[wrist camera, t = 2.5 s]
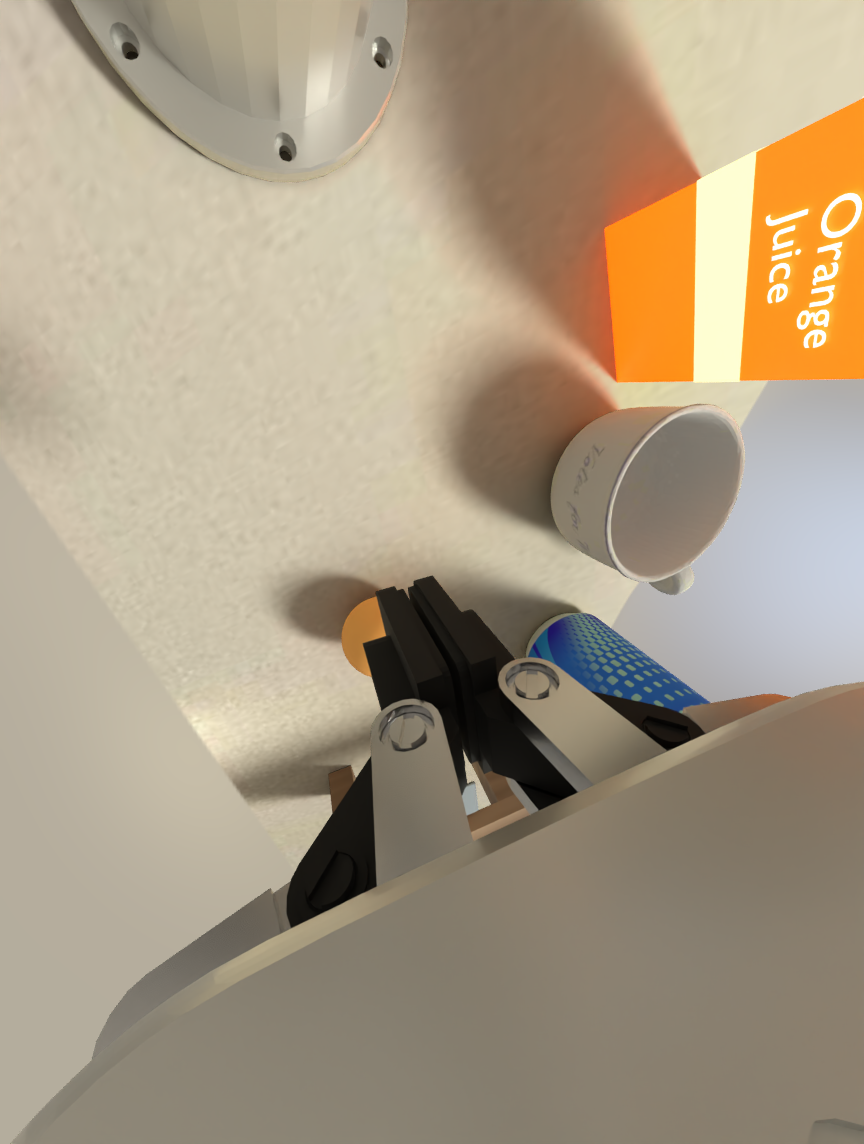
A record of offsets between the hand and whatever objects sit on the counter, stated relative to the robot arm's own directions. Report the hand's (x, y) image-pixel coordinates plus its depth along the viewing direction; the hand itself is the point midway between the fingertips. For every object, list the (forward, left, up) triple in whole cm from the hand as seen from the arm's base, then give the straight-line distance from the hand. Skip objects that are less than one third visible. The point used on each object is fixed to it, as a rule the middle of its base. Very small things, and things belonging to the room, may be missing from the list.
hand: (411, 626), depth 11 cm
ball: (+9, 0, -13) cm, 15 cm away
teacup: (+4, +19, -16) cm, 25 cm away
